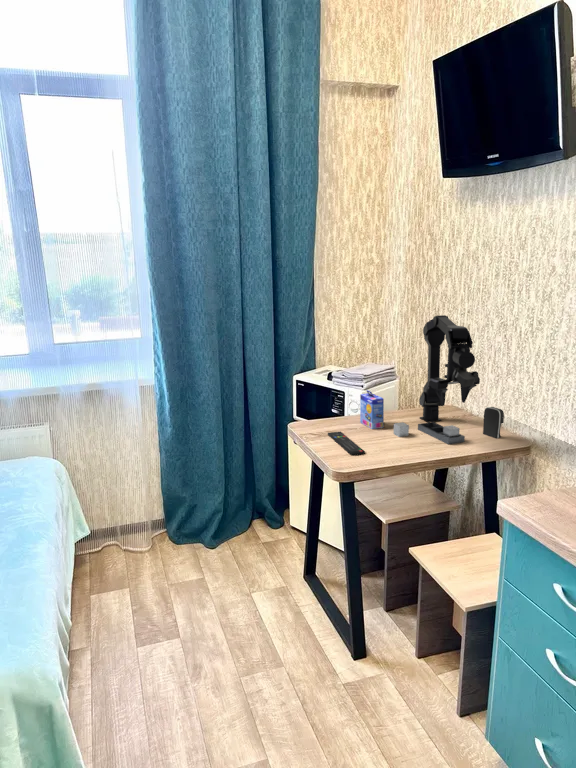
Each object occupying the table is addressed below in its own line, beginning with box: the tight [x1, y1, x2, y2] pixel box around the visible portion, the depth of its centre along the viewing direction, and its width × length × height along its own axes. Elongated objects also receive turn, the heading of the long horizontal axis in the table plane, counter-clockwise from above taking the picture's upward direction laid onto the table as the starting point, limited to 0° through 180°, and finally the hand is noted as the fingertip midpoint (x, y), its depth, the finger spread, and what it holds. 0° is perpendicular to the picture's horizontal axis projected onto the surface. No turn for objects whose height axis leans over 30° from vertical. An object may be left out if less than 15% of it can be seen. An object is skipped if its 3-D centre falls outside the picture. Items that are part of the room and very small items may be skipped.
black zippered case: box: [482, 406, 505, 439], centre depth 213 cm, size 7×4×11 cm, turn 30°
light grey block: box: [443, 424, 460, 438], centre depth 209 cm, size 4×4×5 cm
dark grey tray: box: [417, 421, 466, 446], centre depth 215 cm, size 19×7×3 cm, turn 22°
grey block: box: [393, 421, 410, 438], centre depth 216 cm, size 4×4×5 cm
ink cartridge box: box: [359, 389, 385, 430], centre depth 229 cm, size 10×6×14 cm, turn 23°
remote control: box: [327, 431, 366, 457], centre depth 209 cm, size 5×24×1 cm, turn 16°
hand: (453, 404), depth 210 cm, fingers open, 9 cm apart
